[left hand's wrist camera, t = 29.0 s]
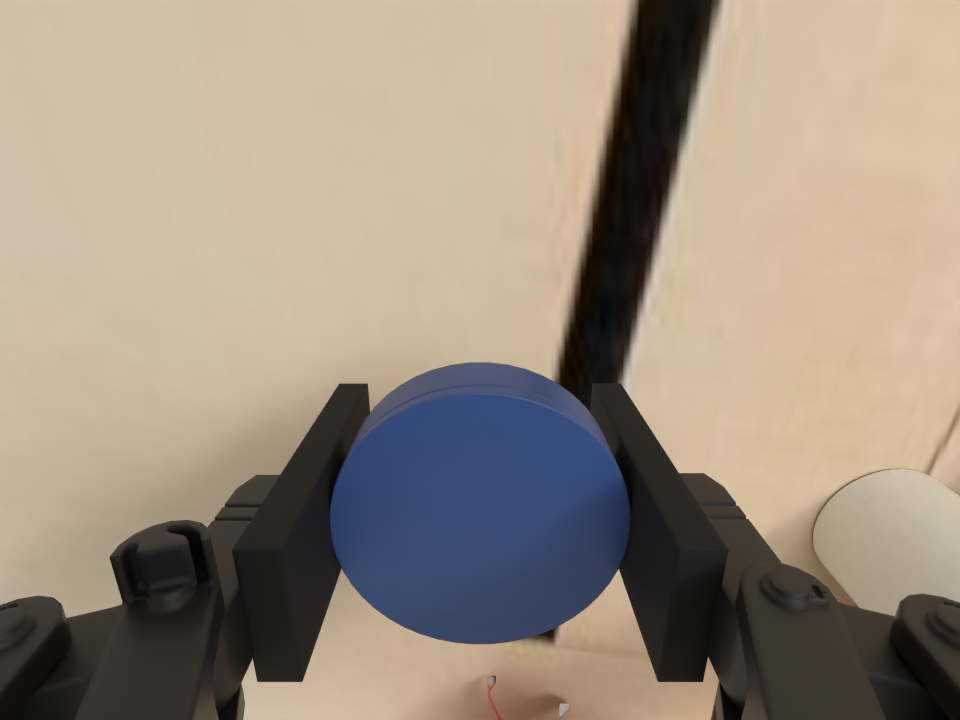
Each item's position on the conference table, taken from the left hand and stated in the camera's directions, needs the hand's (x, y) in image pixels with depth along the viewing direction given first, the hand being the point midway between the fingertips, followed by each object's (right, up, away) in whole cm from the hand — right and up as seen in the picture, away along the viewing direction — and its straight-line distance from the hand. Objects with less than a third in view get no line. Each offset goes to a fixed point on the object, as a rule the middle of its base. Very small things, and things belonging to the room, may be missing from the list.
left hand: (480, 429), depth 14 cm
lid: (0, -1, -4) cm, 4 cm away
